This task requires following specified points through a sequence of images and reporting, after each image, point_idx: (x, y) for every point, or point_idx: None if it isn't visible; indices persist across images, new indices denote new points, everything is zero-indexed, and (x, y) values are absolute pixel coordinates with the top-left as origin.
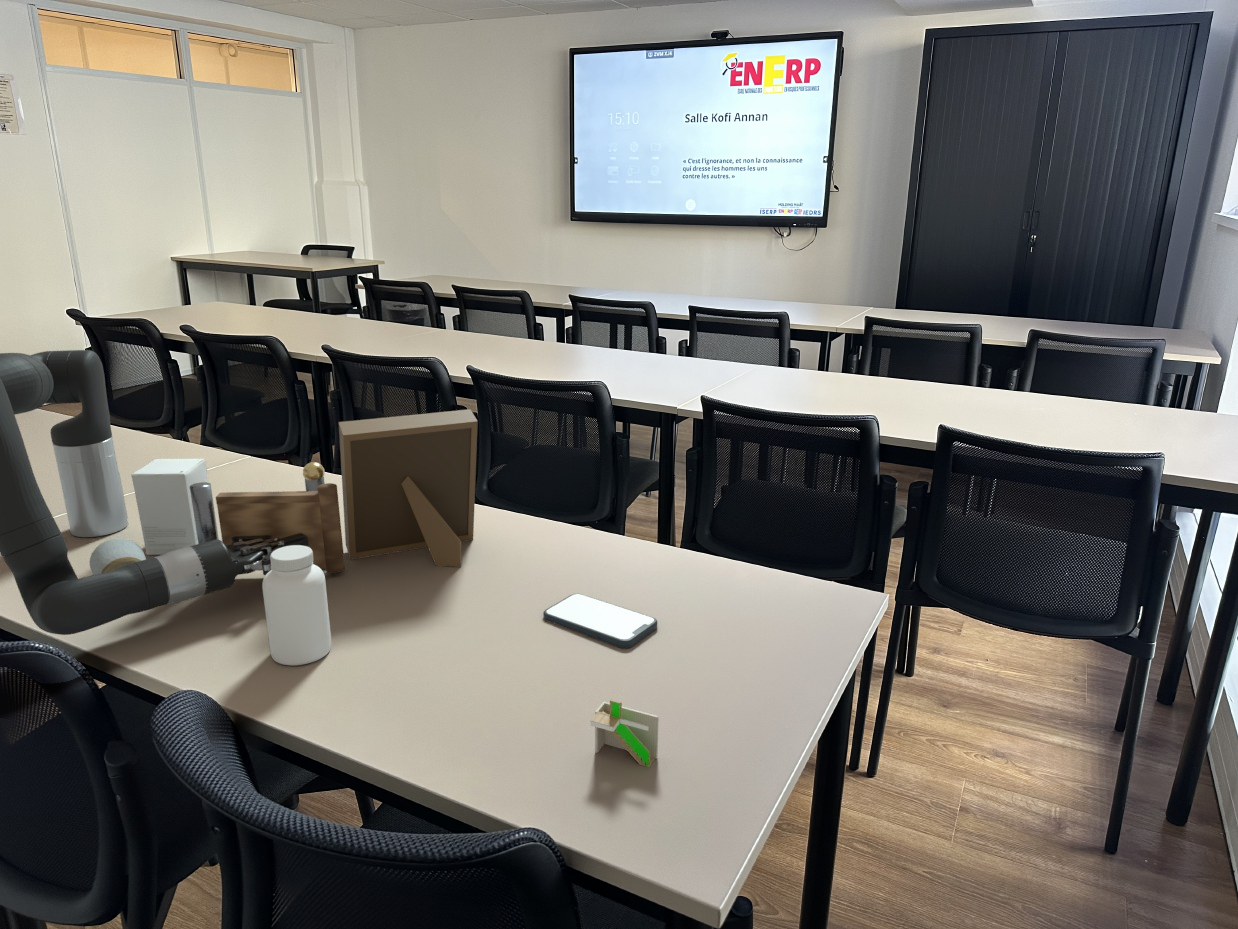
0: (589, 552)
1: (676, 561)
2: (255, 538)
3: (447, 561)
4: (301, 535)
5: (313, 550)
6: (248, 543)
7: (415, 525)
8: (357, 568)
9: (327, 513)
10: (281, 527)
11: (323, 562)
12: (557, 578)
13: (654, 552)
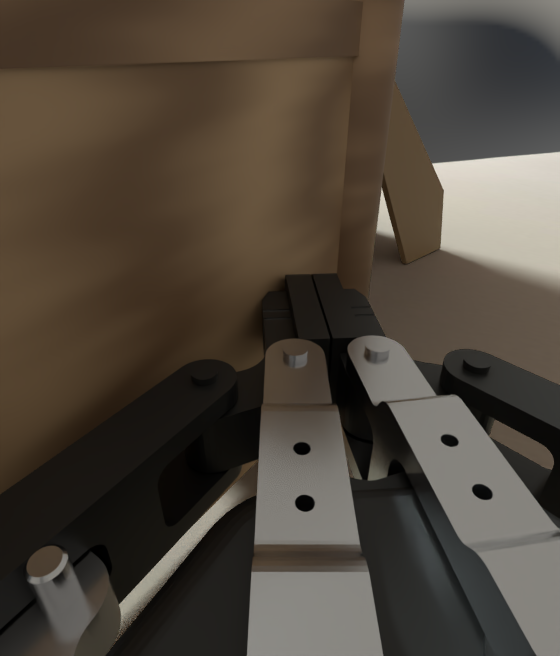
0: (464, 181)
1: (534, 163)
2: (164, 441)
3: (423, 245)
4: (324, 279)
5: None
6: (339, 528)
7: None
8: None
9: (384, 122)
10: (202, 279)
11: None
12: (552, 209)
13: (496, 164)
